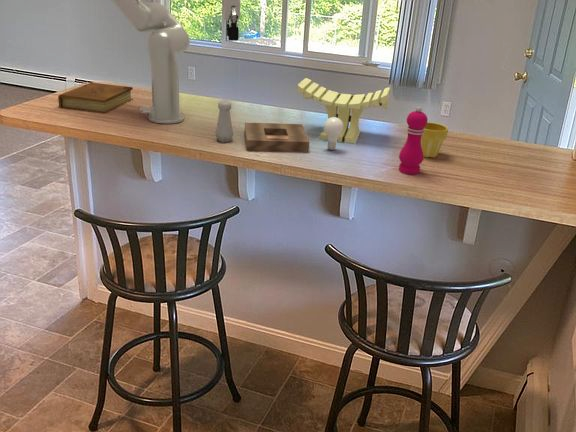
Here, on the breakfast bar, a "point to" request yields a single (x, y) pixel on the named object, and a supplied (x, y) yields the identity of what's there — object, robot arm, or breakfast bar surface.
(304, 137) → the socket block
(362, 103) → the slatted curved stool
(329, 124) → the lightbulb
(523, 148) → the breakfast bar surface
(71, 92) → the diary
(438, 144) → the plant pot
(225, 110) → the salt shaker
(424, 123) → the pepper mill
